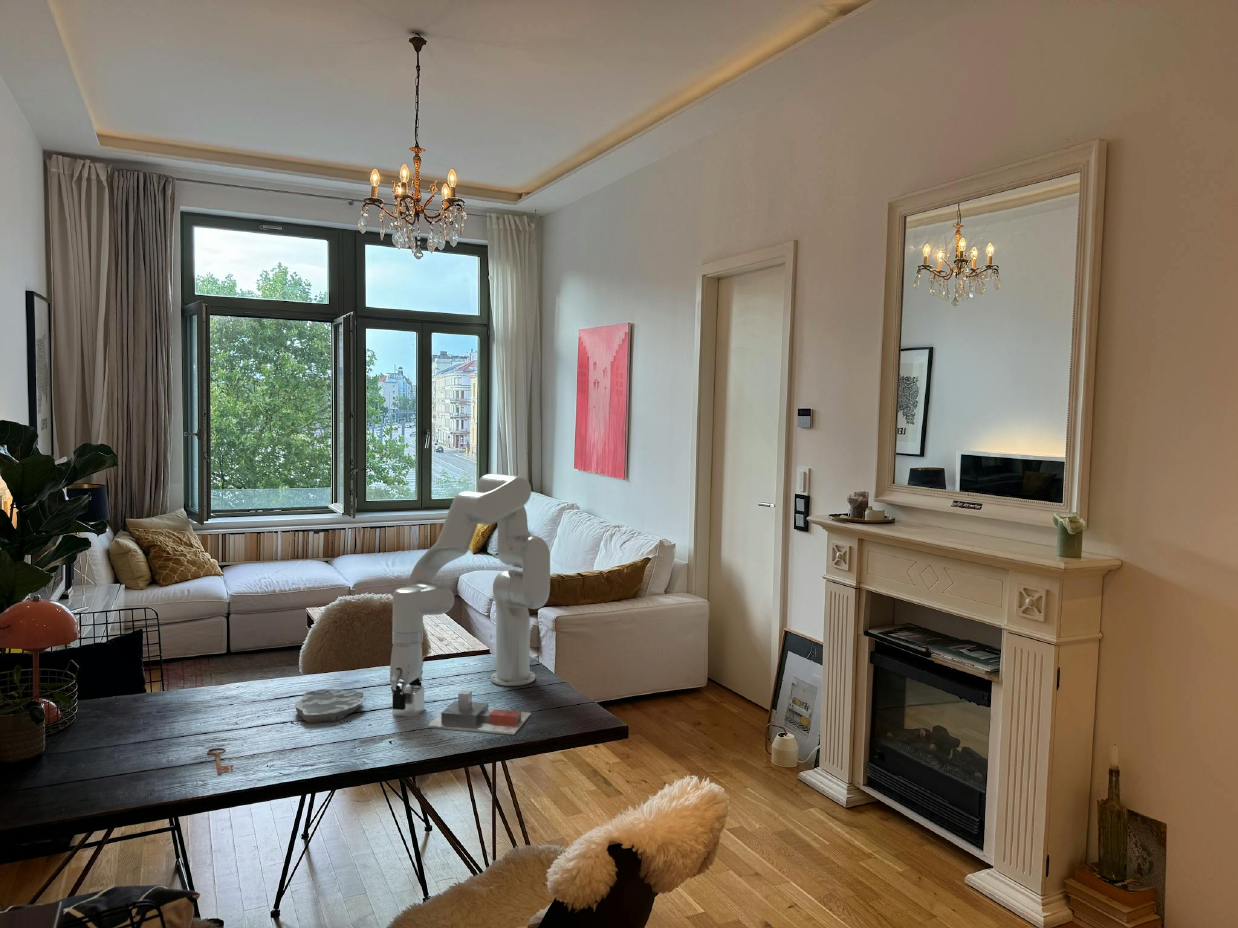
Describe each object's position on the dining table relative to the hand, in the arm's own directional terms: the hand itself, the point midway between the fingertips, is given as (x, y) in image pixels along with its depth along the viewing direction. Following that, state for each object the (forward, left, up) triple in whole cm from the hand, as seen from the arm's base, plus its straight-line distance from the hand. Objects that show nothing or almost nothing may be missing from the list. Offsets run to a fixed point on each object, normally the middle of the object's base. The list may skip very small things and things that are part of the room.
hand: (407, 702), depth 222 cm
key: (+37, -27, -3) cm, 46 cm away
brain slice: (+3, -20, -3) cm, 20 cm away
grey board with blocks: (+2, +20, -2) cm, 20 cm away
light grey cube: (0, 0, -3) cm, 3 cm away
